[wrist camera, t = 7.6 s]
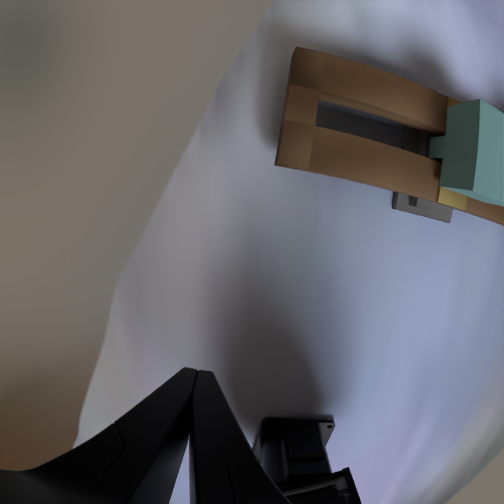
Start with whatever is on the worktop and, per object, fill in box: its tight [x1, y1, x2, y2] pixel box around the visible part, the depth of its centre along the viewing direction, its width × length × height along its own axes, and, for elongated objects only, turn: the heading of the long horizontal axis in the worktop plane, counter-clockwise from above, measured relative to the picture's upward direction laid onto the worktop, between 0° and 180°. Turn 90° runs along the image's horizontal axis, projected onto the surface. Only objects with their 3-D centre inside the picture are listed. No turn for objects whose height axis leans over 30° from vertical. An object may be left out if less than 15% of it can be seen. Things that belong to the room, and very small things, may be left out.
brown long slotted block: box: [274, 47, 504, 226], centre depth 15 cm, size 9×22×6 cm, turn 81°
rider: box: [428, 99, 504, 206], centre depth 14 cm, size 5×4×5 cm
